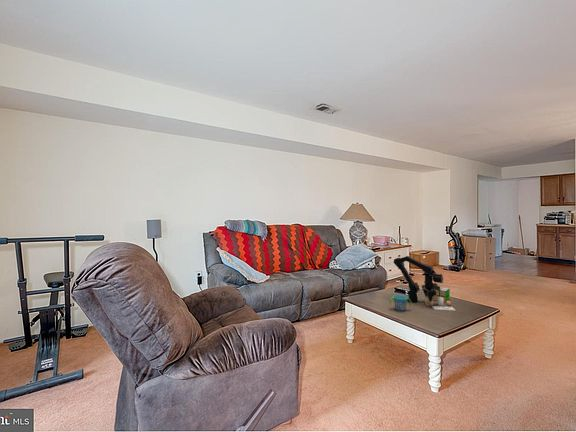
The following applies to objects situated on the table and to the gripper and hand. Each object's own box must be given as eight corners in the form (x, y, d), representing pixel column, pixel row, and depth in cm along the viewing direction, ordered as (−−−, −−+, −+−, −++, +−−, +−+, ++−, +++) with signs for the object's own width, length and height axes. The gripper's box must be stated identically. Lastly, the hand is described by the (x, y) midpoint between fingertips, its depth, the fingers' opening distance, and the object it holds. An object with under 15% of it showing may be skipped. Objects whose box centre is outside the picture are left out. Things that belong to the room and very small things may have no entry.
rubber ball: (447, 305, 225) (447, 301, 225) (445, 304, 228) (445, 300, 228) (451, 306, 224) (451, 301, 224) (450, 304, 228) (450, 300, 228)
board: (434, 310, 216) (434, 308, 216) (431, 306, 223) (431, 305, 223) (455, 311, 213) (455, 309, 213) (452, 307, 221) (452, 306, 221)
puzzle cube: (437, 297, 246) (437, 286, 246) (449, 300, 239) (449, 288, 239) (433, 300, 239) (433, 288, 239) (446, 303, 232) (446, 291, 232)
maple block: (426, 305, 227) (426, 298, 227) (424, 303, 232) (424, 296, 232) (433, 305, 226) (433, 298, 226) (431, 303, 231) (431, 296, 231)
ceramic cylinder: (438, 305, 226) (438, 298, 226) (437, 304, 230) (437, 296, 229) (444, 305, 225) (444, 298, 225) (442, 304, 229) (442, 297, 229)
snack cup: (409, 308, 221) (409, 295, 221) (412, 312, 211) (412, 299, 211) (389, 306, 225) (389, 294, 225) (390, 311, 215) (390, 298, 215)
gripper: (443, 284, 218) (443, 304, 218) (435, 278, 236) (435, 296, 237) (428, 283, 220) (428, 303, 220) (421, 278, 238) (421, 296, 239)
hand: (428, 299), depth 229 cm, fingers open, 9 cm apart
